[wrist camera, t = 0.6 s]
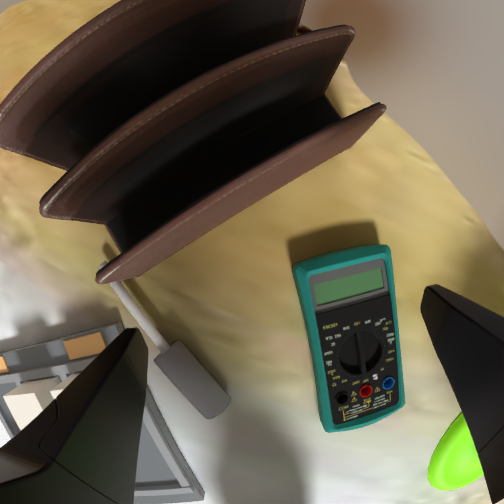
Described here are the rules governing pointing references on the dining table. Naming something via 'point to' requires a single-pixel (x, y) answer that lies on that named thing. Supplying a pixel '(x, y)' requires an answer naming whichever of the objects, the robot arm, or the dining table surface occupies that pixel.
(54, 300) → the dining table surface
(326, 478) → the dining table surface
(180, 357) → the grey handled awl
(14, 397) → the cream block
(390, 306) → the digital multimeter
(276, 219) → the dining table surface
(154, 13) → the letter holder
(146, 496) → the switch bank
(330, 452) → the dining table surface
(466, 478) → the wineglass
